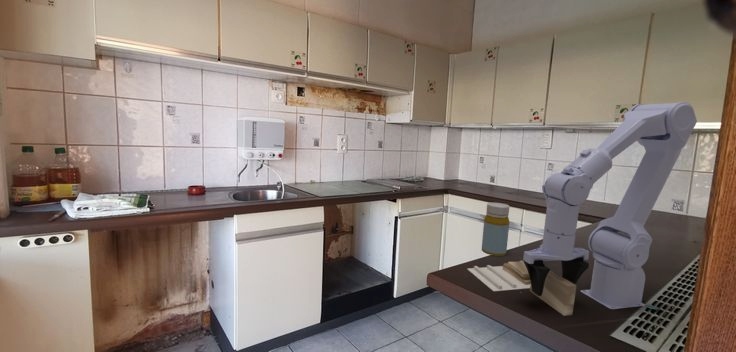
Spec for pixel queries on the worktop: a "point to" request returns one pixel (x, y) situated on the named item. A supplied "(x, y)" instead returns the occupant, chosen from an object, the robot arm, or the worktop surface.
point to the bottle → (496, 229)
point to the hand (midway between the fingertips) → (551, 292)
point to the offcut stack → (518, 271)
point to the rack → (497, 278)
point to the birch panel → (558, 293)
